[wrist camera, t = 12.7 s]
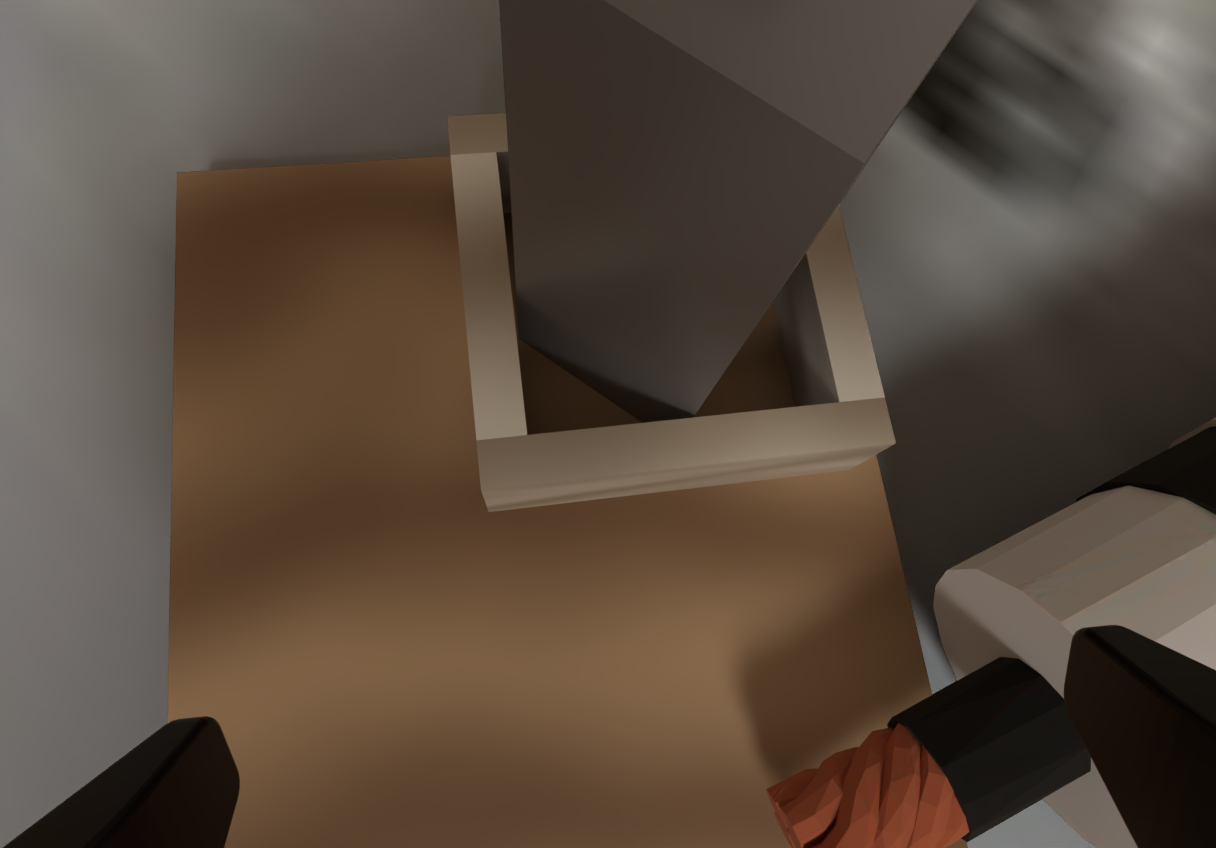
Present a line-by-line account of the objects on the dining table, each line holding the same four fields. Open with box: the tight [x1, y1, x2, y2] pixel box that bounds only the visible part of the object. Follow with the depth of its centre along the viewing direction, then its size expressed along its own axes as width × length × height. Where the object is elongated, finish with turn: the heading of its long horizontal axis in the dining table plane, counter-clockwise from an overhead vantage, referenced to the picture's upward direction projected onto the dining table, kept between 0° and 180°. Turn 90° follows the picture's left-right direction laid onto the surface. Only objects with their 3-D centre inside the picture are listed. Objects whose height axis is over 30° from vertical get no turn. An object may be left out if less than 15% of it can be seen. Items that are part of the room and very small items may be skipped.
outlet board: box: [167, 113, 968, 848], centre depth 17 cm, size 20×16×4 cm
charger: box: [499, 0, 977, 423], centre depth 13 cm, size 4×4×12 cm
